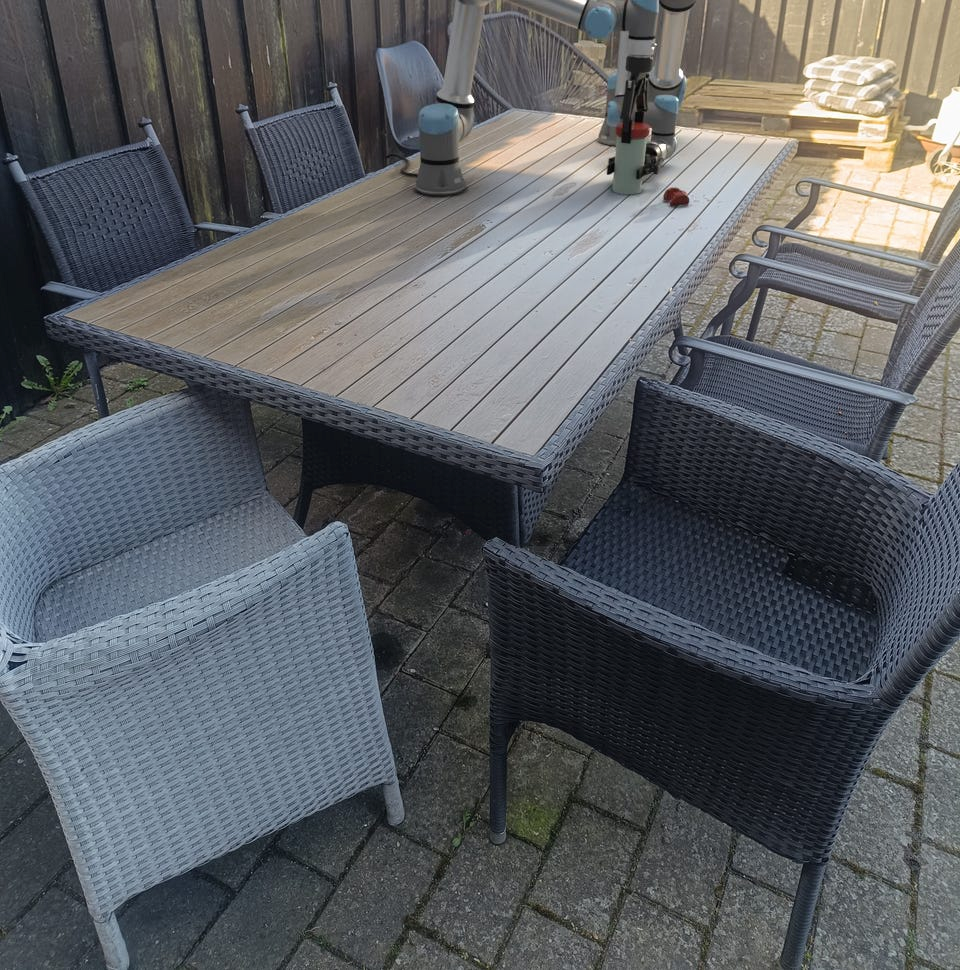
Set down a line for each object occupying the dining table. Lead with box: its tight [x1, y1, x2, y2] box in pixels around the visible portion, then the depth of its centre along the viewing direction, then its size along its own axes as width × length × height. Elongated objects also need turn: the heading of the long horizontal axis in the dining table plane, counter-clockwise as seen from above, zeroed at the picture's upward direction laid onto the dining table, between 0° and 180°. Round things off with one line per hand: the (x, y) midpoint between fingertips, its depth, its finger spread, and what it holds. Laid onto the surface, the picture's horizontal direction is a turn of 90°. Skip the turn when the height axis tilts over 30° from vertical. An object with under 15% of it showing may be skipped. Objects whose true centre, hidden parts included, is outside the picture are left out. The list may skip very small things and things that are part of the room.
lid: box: [615, 122, 651, 138], centre depth 248 cm, size 10×10×2 cm
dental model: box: [662, 187, 690, 207], centre depth 246 cm, size 6×4×8 cm
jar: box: [611, 136, 648, 195], centre depth 253 cm, size 9×9×18 cm
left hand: (631, 139), depth 249 cm, fingers closed on lid, 10 cm apart
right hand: (622, 172), depth 251 cm, fingers closed on jar, 9 cm apart
